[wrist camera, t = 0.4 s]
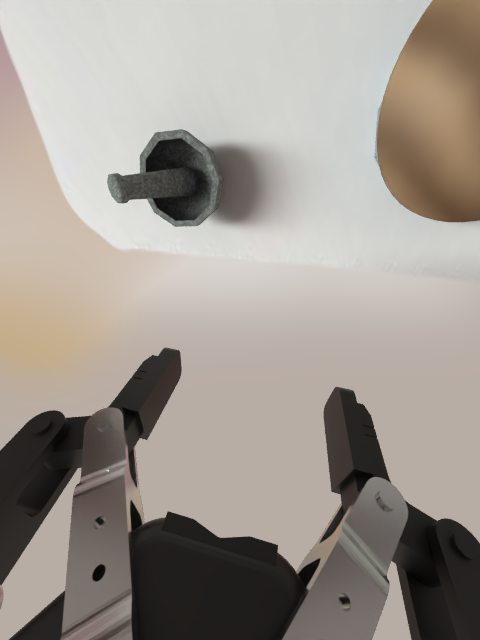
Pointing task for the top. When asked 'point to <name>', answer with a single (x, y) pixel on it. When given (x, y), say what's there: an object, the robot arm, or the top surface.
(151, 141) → the mortar and pestle
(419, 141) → the lid
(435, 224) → the top surface
